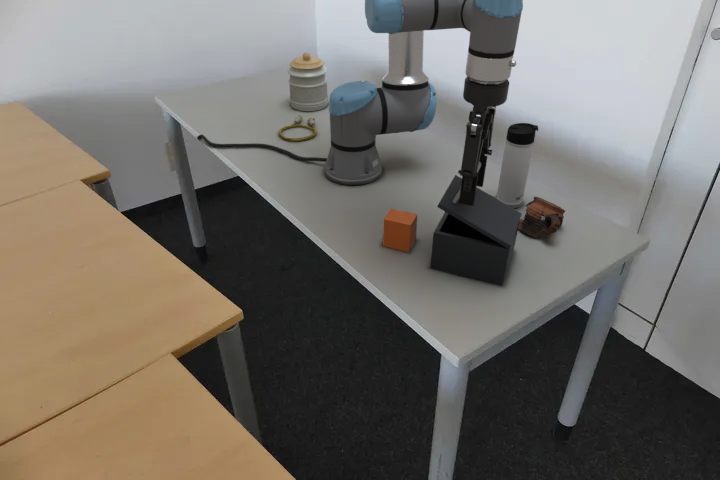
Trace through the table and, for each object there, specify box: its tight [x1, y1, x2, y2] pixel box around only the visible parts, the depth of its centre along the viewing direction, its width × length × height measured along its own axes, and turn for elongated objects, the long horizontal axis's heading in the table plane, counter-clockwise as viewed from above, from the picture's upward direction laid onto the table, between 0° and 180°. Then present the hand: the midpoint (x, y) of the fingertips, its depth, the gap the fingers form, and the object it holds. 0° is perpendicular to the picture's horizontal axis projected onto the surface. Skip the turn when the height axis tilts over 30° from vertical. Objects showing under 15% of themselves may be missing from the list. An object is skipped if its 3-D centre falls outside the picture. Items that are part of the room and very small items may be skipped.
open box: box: [430, 211, 519, 287], centre depth 111 cm, size 15×12×9 cm
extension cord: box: [278, 115, 318, 142], centre depth 167 cm, size 12×16×2 cm
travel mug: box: [495, 122, 539, 209], centre depth 127 cm, size 6×7×20 cm
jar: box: [287, 51, 329, 112], centre depth 181 cm, size 13×13×18 cm
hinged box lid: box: [436, 161, 523, 249], centre depth 105 cm, size 16×12×8 cm
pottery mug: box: [518, 196, 566, 239], centre depth 121 cm, size 12×10×8 cm
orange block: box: [382, 208, 418, 253], centre depth 117 cm, size 6×5×7 cm
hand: (471, 193), depth 106 cm, fingers closed on hinged box lid, 7 cm apart
